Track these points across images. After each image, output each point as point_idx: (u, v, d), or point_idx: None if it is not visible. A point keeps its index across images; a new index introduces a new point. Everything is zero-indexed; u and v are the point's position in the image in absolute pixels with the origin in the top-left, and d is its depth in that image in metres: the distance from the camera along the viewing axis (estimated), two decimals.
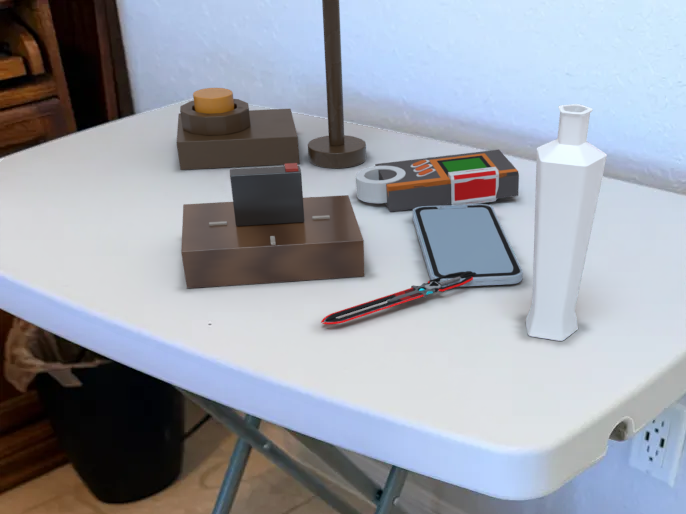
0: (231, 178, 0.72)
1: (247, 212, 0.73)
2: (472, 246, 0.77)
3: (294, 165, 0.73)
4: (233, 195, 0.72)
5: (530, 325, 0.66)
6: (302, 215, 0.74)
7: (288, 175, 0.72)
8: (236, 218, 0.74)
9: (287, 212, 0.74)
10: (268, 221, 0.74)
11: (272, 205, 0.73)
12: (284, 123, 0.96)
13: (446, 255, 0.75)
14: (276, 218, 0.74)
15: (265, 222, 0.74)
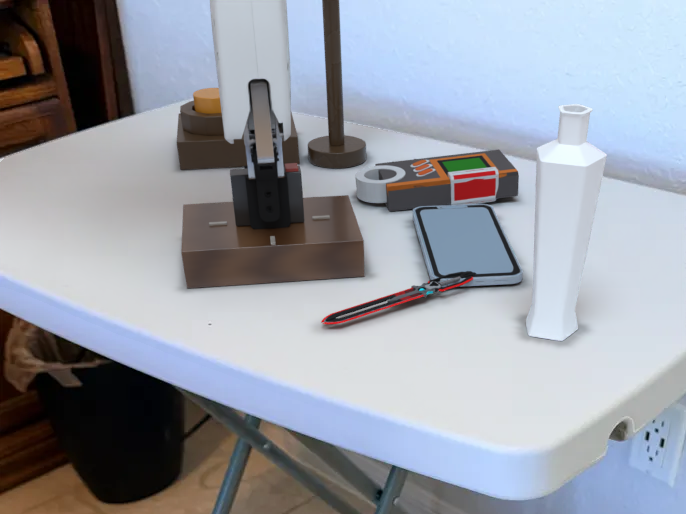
0: (231, 178, 0.72)
1: (247, 212, 0.73)
2: (472, 246, 0.77)
3: (294, 165, 0.73)
4: (233, 195, 0.72)
5: (530, 325, 0.66)
6: (302, 215, 0.74)
7: (288, 175, 0.72)
8: (236, 218, 0.74)
9: None
10: None
11: None
12: None
13: (446, 255, 0.75)
14: None
15: None
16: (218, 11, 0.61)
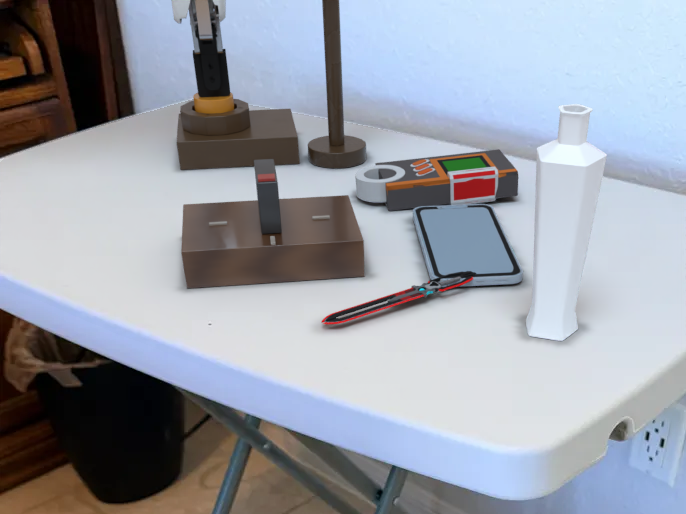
0: (254, 162, 0.74)
1: None
2: (472, 246, 0.77)
3: (266, 177, 0.71)
4: None
5: (530, 325, 0.66)
6: None
7: (256, 181, 0.71)
8: None
9: None
10: None
11: (258, 204, 0.74)
12: (284, 123, 0.96)
13: (447, 255, 0.75)
14: None
15: None
16: None
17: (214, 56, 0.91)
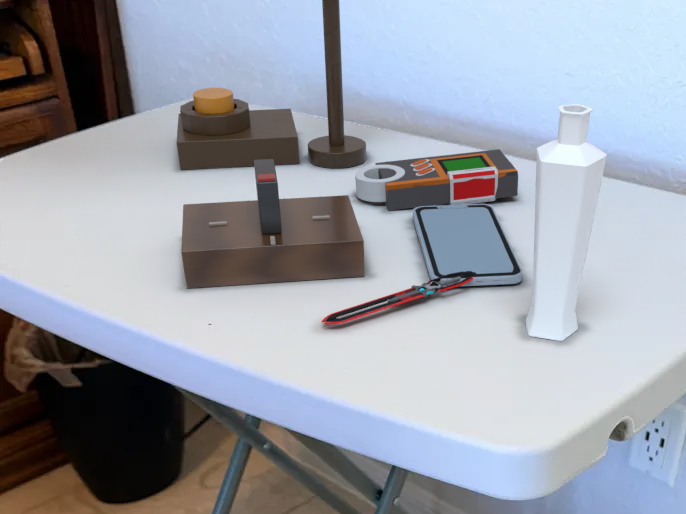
0: (254, 162, 0.74)
1: None
2: (472, 246, 0.77)
3: (266, 177, 0.71)
4: None
5: (530, 325, 0.66)
6: None
7: (256, 181, 0.71)
8: None
9: None
10: None
11: (258, 204, 0.74)
12: (284, 123, 0.96)
13: (447, 255, 0.75)
14: None
15: None
16: None
17: None
